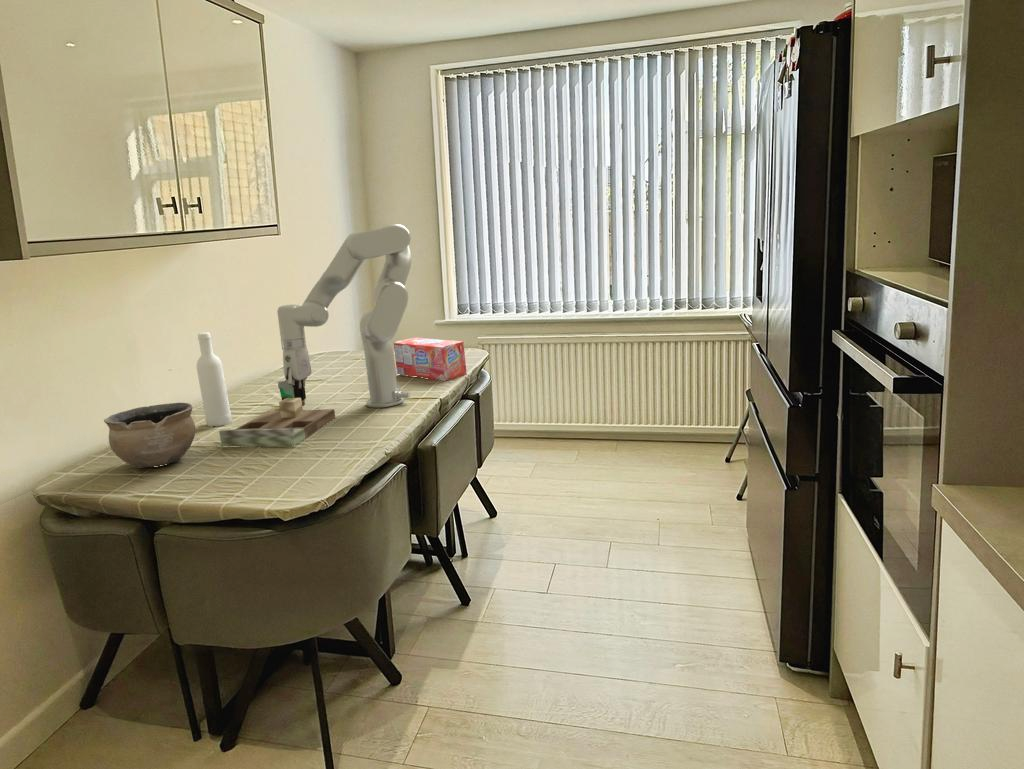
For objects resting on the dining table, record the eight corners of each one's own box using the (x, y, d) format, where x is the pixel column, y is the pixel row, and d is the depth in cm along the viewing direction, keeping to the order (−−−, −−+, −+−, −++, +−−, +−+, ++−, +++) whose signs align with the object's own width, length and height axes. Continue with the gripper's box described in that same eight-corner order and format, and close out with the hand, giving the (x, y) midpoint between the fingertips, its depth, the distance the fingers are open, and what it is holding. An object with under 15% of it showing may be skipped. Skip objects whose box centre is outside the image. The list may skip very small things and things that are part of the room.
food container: (298, 410, 255) (294, 381, 253) (281, 410, 257) (277, 382, 254) (314, 400, 267) (310, 373, 265) (298, 401, 268) (294, 373, 266)
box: (468, 374, 290) (464, 339, 287) (445, 382, 280) (441, 345, 277) (419, 369, 307) (415, 336, 303) (396, 376, 297) (392, 342, 294)
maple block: (303, 412, 239) (301, 397, 238) (295, 417, 234) (293, 401, 233) (288, 413, 240) (286, 398, 239) (281, 417, 235) (278, 402, 234)
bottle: (207, 422, 249) (190, 333, 242) (232, 418, 252) (216, 330, 245) (206, 428, 242) (189, 336, 235) (232, 424, 244) (216, 333, 237)
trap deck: (335, 418, 241) (333, 403, 240) (294, 446, 215) (291, 429, 214) (270, 419, 246) (267, 404, 245) (222, 447, 220) (219, 430, 218)
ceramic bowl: (111, 483, 196) (99, 428, 192) (117, 460, 215) (106, 409, 212) (202, 465, 204) (192, 412, 200) (200, 445, 224) (191, 396, 220)
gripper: (293, 347, 232) (300, 405, 236) (315, 339, 246) (321, 394, 250) (271, 348, 234) (278, 405, 238) (293, 340, 248) (300, 394, 252)
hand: (300, 399), depth 244 cm, fingers closed
